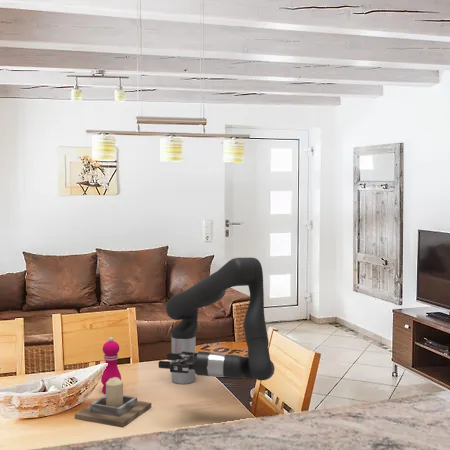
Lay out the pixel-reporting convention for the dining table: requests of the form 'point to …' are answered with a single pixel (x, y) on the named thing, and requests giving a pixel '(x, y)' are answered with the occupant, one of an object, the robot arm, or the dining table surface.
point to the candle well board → (113, 411)
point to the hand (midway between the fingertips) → (163, 360)
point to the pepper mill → (110, 362)
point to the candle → (114, 392)
